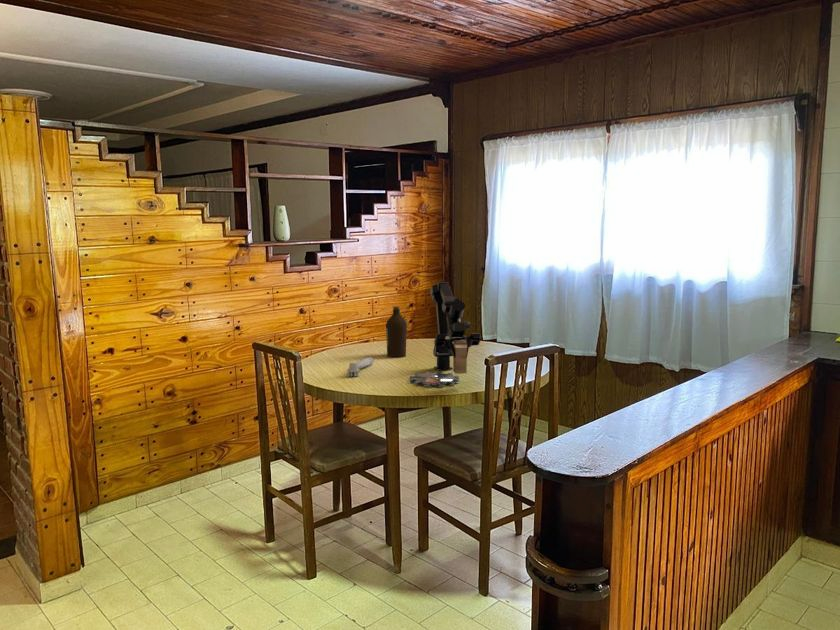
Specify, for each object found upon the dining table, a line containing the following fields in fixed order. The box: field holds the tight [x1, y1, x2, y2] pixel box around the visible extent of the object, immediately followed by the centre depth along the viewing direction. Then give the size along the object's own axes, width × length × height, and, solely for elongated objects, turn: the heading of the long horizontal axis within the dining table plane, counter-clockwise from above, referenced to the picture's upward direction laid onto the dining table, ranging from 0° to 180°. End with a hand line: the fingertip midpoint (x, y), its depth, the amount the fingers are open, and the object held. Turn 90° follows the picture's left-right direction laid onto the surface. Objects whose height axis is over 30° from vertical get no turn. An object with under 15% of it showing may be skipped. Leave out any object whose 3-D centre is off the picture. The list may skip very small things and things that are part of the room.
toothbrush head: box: [346, 356, 374, 377], centre depth 282 cm, size 5×7×25 cm
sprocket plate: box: [408, 371, 460, 389], centre depth 264 cm, size 21×21×2 cm
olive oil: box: [385, 305, 408, 359], centre depth 311 cm, size 11×11×25 cm
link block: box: [452, 340, 468, 375], centre depth 253 cm, size 5×5×13 cm
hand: (460, 357), depth 251 cm, fingers closed on link block, 4 cm apart
